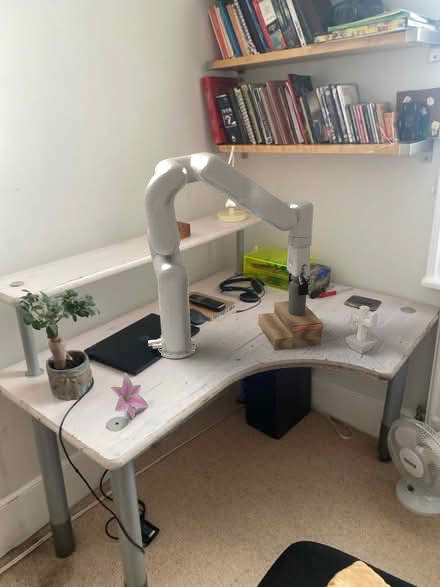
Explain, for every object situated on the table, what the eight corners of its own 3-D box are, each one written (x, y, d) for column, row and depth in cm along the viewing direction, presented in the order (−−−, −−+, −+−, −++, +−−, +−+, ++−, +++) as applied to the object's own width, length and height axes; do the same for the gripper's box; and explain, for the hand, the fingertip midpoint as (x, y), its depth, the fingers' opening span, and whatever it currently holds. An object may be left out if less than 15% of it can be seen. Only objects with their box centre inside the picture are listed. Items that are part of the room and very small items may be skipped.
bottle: (285, 313, 156) (287, 272, 150) (291, 307, 161) (293, 267, 155) (302, 316, 153) (304, 274, 147) (307, 310, 158) (310, 269, 152)
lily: (110, 430, 115) (123, 407, 111) (94, 397, 121) (106, 374, 117) (146, 423, 123) (160, 401, 119) (130, 392, 129) (142, 370, 125)
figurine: (356, 340, 154) (360, 299, 148) (379, 351, 146) (384, 308, 141) (341, 346, 150) (344, 304, 144) (364, 358, 143) (368, 314, 137)
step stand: (275, 351, 148) (275, 328, 145) (258, 324, 167) (258, 304, 164) (321, 345, 151) (323, 323, 148) (299, 319, 170) (300, 299, 167)
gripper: (280, 234, 155) (279, 282, 161) (298, 248, 139) (296, 300, 145) (301, 233, 156) (299, 280, 162) (321, 246, 140) (318, 298, 147)
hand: (297, 289), depth 154 cm, fingers open, 9 cm apart
